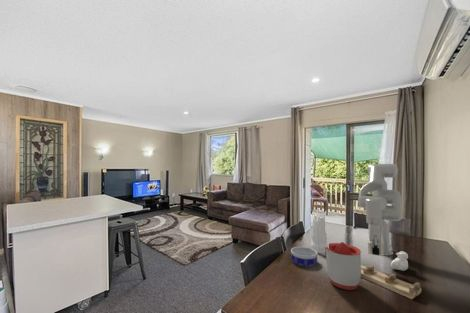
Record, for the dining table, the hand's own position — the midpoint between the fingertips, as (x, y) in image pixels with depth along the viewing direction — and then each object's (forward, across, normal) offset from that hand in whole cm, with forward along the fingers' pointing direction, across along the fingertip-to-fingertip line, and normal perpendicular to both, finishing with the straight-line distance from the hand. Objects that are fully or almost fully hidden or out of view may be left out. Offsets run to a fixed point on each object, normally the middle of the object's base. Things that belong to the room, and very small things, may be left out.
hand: (375, 252), depth 118 cm
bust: (+9, -5, +12) cm, 16 cm away
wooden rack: (+8, +15, 0) cm, 17 cm away
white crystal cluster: (+9, -12, -32) cm, 35 cm away
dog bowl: (+8, +10, -38) cm, 40 cm away
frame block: (+1, 0, 0) cm, 1 cm away
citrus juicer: (+7, +27, -16) cm, 32 cm away
